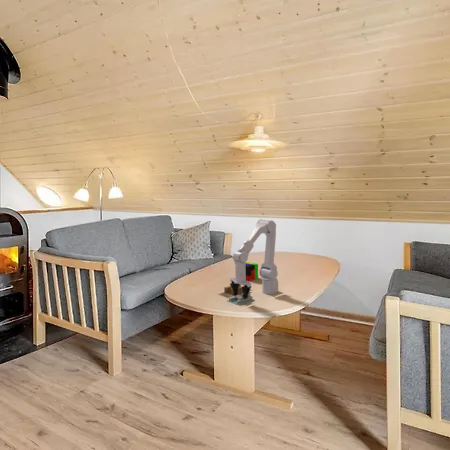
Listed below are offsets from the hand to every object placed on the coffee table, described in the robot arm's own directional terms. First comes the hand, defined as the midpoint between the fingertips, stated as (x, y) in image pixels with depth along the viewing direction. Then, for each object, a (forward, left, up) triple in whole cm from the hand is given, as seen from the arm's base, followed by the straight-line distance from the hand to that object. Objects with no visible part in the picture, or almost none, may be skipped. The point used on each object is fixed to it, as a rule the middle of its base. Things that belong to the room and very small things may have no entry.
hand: (240, 296), depth 204 cm
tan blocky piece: (-7, -13, -2) cm, 15 cm away
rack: (0, 0, -3) cm, 3 cm away
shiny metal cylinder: (-2, 0, -2) cm, 2 cm away
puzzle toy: (-37, -31, -3) cm, 48 cm away
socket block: (-8, -13, -3) cm, 16 cm away
